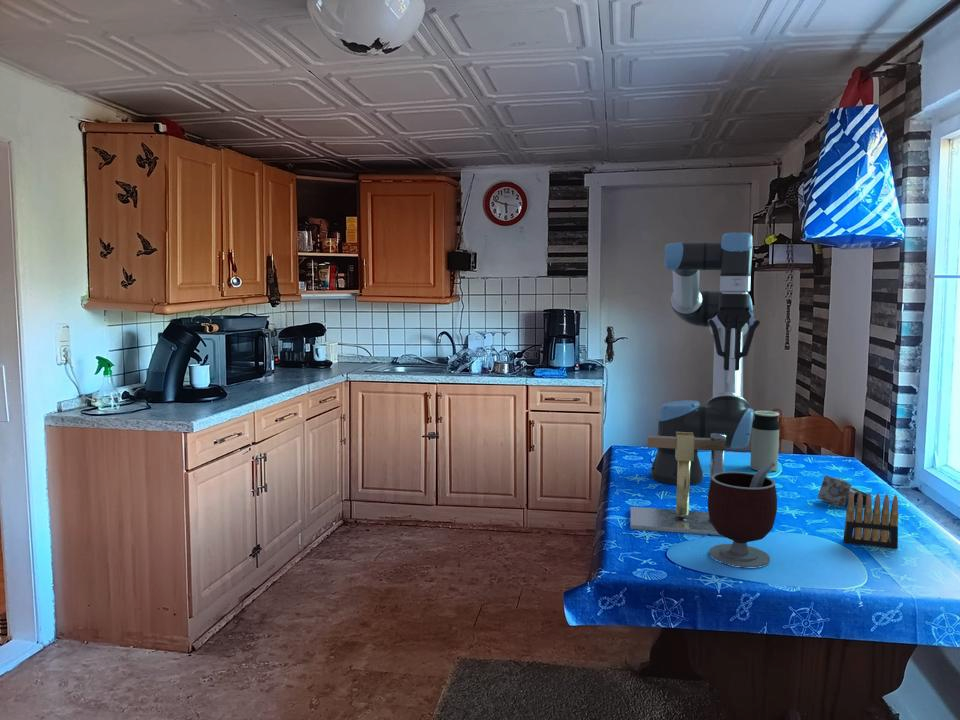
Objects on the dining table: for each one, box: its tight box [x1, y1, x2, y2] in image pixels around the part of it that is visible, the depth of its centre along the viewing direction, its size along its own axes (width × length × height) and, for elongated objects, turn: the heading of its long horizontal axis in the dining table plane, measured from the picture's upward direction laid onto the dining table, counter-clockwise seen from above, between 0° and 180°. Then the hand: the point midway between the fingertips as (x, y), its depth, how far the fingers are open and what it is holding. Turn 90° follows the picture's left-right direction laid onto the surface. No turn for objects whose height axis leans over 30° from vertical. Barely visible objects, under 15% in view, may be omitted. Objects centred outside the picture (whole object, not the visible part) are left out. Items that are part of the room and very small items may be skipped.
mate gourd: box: [707, 462, 778, 567], centre depth 154 cm, size 16×14×20 cm
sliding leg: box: [675, 432, 695, 518], centre depth 175 cm, size 4×6×21 cm
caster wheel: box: [817, 474, 868, 508], centre depth 192 cm, size 7×11×10 cm
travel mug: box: [749, 410, 780, 472], centre depth 225 cm, size 8×8×18 cm
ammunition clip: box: [842, 491, 899, 550], centre depth 161 cm, size 11×2×12 cm, turn 72°
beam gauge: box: [630, 433, 726, 536], centre depth 174 cm, size 26×14×22 cm, turn 78°
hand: (730, 382), depth 189 cm, fingers closed
